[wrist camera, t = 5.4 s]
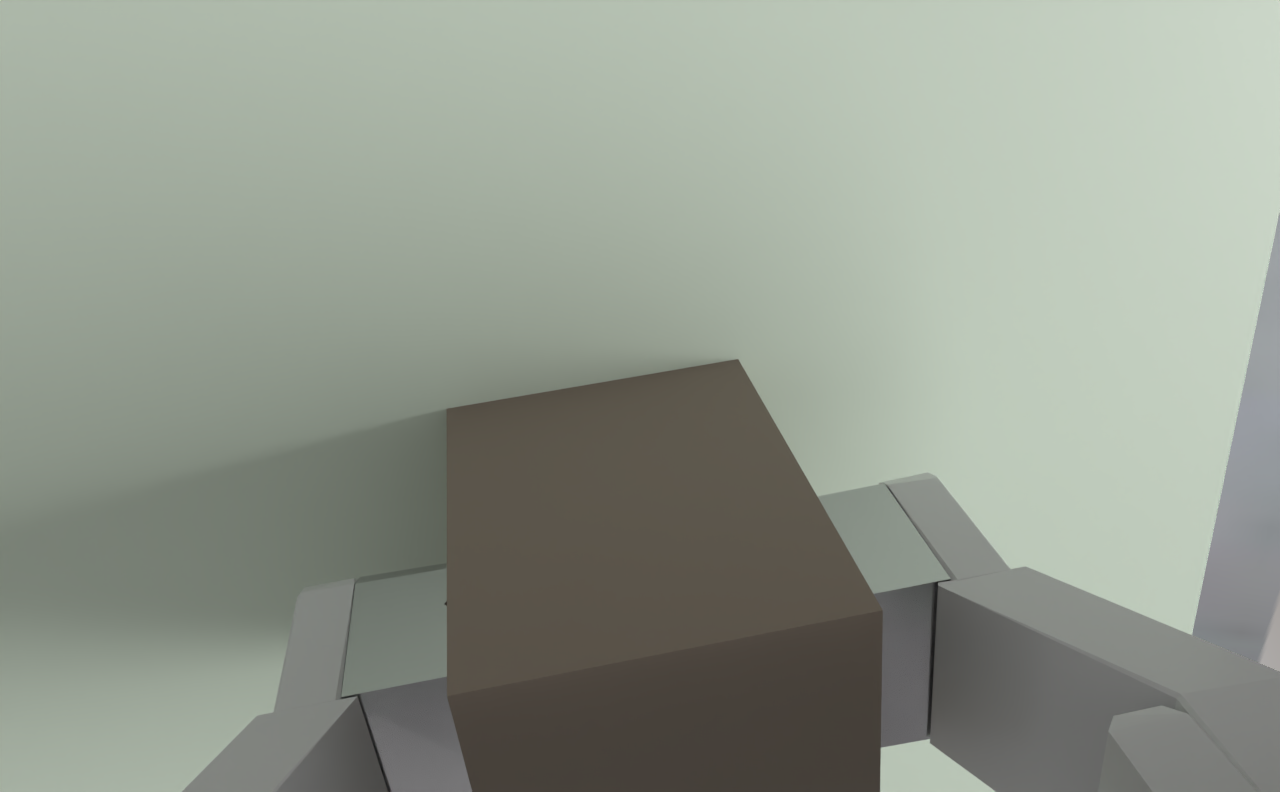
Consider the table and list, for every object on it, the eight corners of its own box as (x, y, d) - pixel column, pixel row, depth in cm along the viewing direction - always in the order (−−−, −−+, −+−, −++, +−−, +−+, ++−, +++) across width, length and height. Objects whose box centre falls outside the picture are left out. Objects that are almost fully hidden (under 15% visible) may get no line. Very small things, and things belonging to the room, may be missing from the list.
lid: (1123, 777, 16) (1360, 1103, 12) (154, 990, 15) (38, 1444, 10) (1333, -392, 9) (2111, -606, 5) (-511, -202, 8) (-1704, -265, 3)
